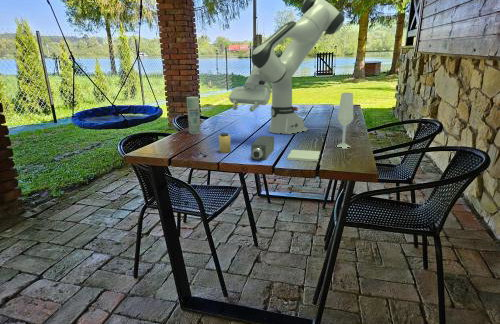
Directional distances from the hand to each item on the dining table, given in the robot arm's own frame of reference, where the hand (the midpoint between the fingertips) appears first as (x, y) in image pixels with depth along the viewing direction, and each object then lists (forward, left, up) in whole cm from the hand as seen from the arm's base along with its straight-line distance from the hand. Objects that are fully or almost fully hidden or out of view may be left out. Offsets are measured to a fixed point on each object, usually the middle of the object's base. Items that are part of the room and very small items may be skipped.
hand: (242, 109), depth 140 cm
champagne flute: (-40, +23, -17) cm, 49 cm away
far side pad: (-15, +28, -17) cm, 36 cm away
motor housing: (-2, +17, -17) cm, 24 cm away
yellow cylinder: (+11, +5, -17) cm, 21 cm away
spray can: (+12, -40, -17) cm, 45 cm away
